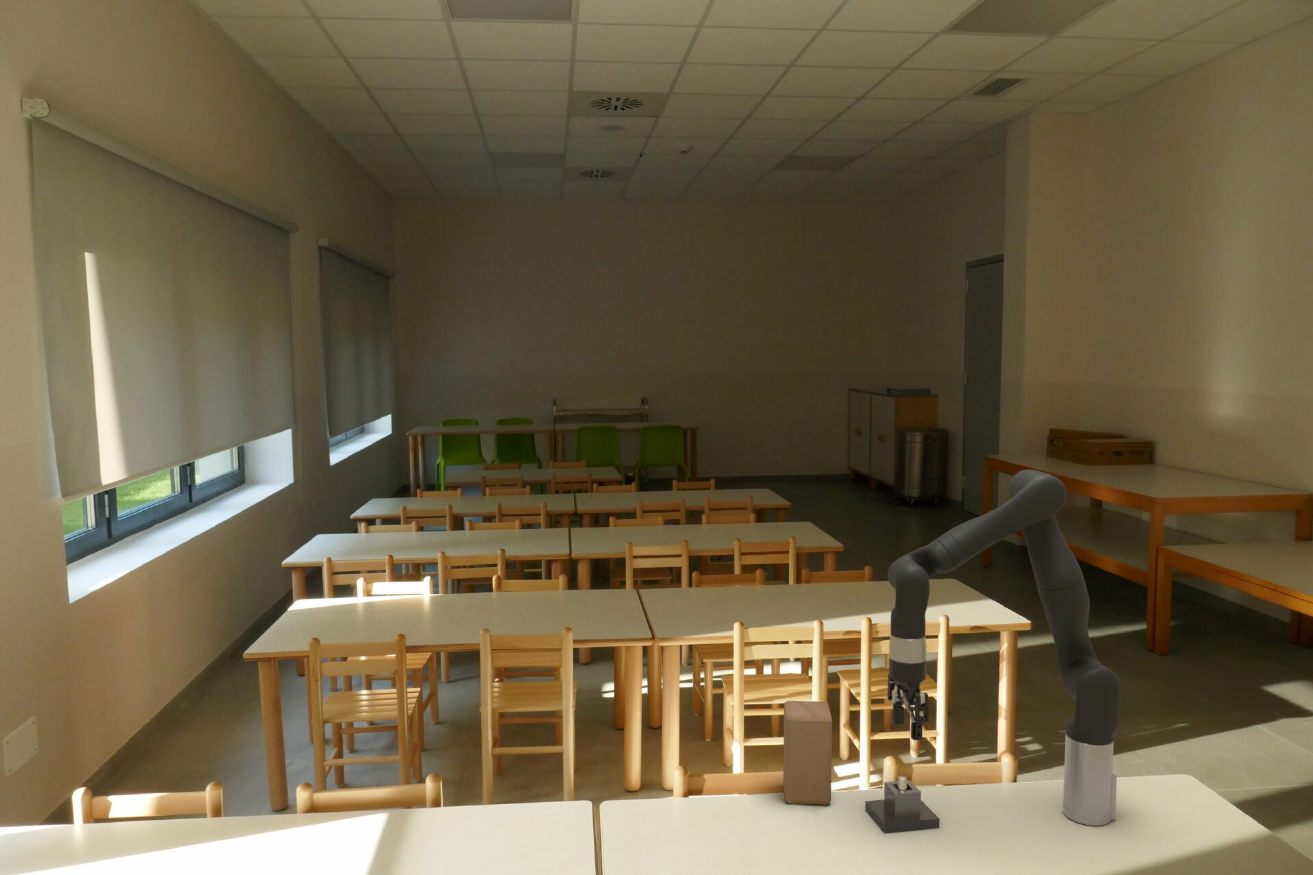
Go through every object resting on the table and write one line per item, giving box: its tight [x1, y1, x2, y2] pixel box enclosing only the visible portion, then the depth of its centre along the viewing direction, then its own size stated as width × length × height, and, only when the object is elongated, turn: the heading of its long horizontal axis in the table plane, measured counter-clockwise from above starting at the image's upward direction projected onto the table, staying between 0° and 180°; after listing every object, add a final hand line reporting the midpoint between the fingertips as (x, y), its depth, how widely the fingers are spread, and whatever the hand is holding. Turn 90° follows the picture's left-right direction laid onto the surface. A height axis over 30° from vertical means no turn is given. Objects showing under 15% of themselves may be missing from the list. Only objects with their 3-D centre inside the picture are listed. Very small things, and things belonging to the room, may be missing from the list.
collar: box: [883, 779, 922, 817], centre depth 196 cm, size 6×6×5 cm
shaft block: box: [864, 775, 941, 834], centre depth 196 cm, size 12×10×9 cm
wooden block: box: [782, 700, 833, 806], centre depth 207 cm, size 10×10×20 cm
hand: (907, 731), depth 196 cm, fingers open, 8 cm apart
